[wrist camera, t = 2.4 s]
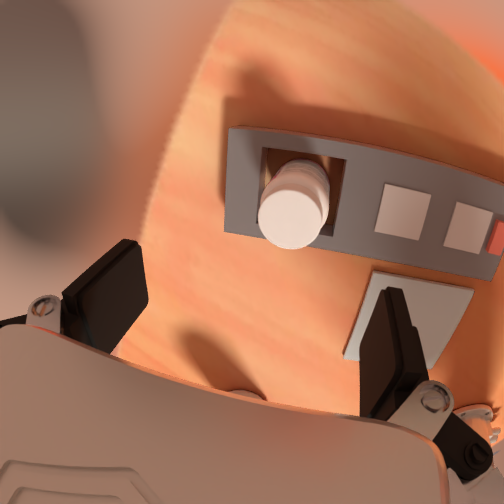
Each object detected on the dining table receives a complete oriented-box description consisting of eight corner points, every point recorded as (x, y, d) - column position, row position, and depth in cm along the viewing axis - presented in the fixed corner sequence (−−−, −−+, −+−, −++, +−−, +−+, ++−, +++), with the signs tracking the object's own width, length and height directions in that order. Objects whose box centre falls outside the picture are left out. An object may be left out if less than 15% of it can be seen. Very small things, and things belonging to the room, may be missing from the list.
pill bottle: (275, 155, 25) (252, 179, 18) (332, 160, 24) (333, 187, 17) (273, 207, 27) (250, 250, 20) (326, 213, 26) (324, 259, 19)
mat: (473, 288, 26) (474, 291, 25) (430, 366, 31) (431, 369, 31) (373, 270, 28) (373, 272, 27) (343, 355, 34) (343, 358, 33)
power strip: (510, 185, 20) (526, 195, 17) (482, 268, 24) (493, 284, 22) (237, 125, 25) (226, 128, 22) (232, 221, 29) (221, 234, 26)
